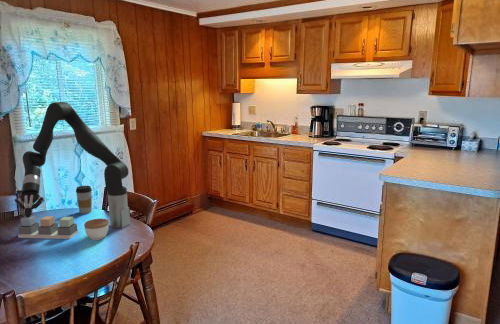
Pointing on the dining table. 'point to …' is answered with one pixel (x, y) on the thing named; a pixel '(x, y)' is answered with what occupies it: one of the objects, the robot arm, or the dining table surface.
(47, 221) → the terracotta key
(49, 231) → the keypad board
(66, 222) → the sage key
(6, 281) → the dining table surface
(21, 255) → the dining table surface
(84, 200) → the coffee cup
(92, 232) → the lidded jar
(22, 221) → the slate key
